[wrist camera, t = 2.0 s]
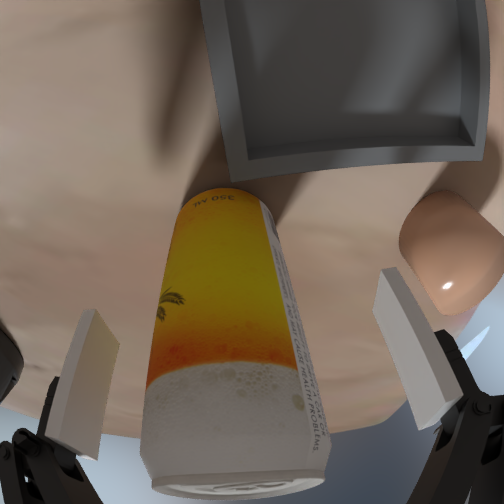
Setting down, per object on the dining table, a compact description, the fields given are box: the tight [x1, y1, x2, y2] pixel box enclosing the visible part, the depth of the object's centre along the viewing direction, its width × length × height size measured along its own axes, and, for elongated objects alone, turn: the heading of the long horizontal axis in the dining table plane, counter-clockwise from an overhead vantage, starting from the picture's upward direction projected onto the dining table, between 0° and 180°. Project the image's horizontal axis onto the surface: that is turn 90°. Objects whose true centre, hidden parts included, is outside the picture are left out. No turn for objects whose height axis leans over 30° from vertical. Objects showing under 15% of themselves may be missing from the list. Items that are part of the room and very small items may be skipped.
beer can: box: [140, 188, 332, 500], centre depth 13 cm, size 6×6×15 cm
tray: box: [199, 0, 490, 183], centre depth 10 cm, size 16×16×3 cm
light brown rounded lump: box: [399, 190, 504, 315], centre depth 18 cm, size 7×7×6 cm
